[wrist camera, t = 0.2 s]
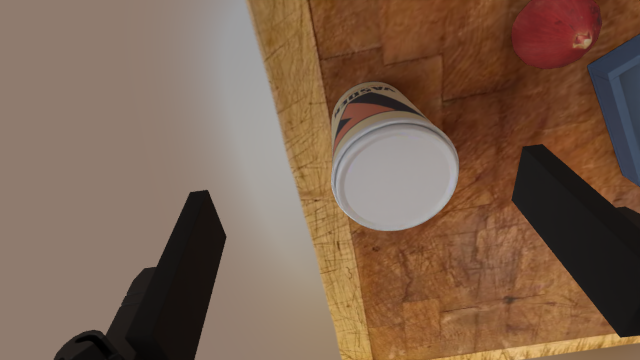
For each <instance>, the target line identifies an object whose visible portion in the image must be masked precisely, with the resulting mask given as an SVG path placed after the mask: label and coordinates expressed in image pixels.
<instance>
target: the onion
mask: <svg viewBox="0 0 640 360" xmlns="http://www.w3.org/2000/svg"><path fill="white" fill-rule="evenodd" d="M601 26H602V21H601V15H600V9H599V6H598V5H597V4H596V3H595V2H594V1H593V0H531V1H530V2H529V3H528V4H527V5H526V6H525V7H524V8H523V9H522V11H521V12H520V13H519V14H518V16H517V18H516V20H515V22H514V24H513V28H512V34H511V41H512V45H513V48H514V52H515V53H516V54H517V55H518V56H519V57H520V58H521V60H522V61H523V62H524V63H525V64H528V65H531V66H534V67H538V68H541V69H551V68H558V67H563V66H566V65H568V64H570V63H572V62H574V61H576V60H578V59H580V58H581V57H582V56H583V55H584V54H585V53H587V52H588V51H589V50H590V49H591V47H592V46H593V45H594V43H595V42H596V41H597V39H598V36H599V33H600V29H601Z"/></svg>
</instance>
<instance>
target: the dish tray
mask: <svg viewBox="0 0 640 360" xmlns="http://www.w3.org/2000/svg"><path fill="white" fill-rule="evenodd" d="M587 67H588V70H589V73H590V76H591V79H592V82H593V86H594V89H595V92H596V95H597V98H598V101H599V104H600V107H601V110H602V113H603V116H604V120H605V123H606V126H607V129H608V132H609V135H610V138H611V141H612V144H613V147H614V150H615V154H616V157H617V160H618V163H619V166H620V169H621V172H622V175H623V176H624V177H626V178H627V179H629V180H630V181H632V182H633V183H635V184H636V185H638V186H639V187H640V34H639V35H637V36H635V37H634V38H632V39H631V40H629V41H627V42H626V43H624V44H622V45H621V46H619V47H617V48H616V49H614V50H612V51H611V52H609V53H608V54H606V55H604V56H603V57H601V58H599V59H598V60H596V61H594V62H593V63H591V64H589V65H588V66H587Z"/></svg>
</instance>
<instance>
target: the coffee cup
mask: <svg viewBox="0 0 640 360" xmlns="http://www.w3.org/2000/svg"><path fill="white" fill-rule="evenodd" d="M458 173H459V160H458V155H457V152H456V149H455V147H454V145H453V144H452V142H451V140H450V139H449V138H448V137H447V136H446V135H445V133H443V132H442V131H441V130H440V129H439V128H437V127H436V126H434V125H433V124H432V123H431V122H430V121H429V120H428V119H427V118H426V117H425V116H424V115H423V114H422V113H421V112H420V111H419V110H418V109H417V108H416V107H415V106H414V105H413V104H412V103H411V102H410V101H409V100H408V99H407V98H406V97H405V96H404V95H403V94H402V93H400V92H399V91H398V90H397V89H396V88H394V87H392V86H391V85H388V84H386V83H382V82H366V83H362V84H359V85H357V86H355V87H353V88H351V89H350V90H348V91H347V92H346V93H345V94H344V95H343V96H342V97H341V98H340V99H339V101H338V102H337V104H336V106H335V108H334V111H333V115H332V176H331V185H332V191H333V194H334V197H335V199H336V201H337V203H338V205H339V206H340V208H341V209H342V210H343V211H344V212H345V213H346V214H347V215H348V216H349V217H350V218H351V219H353V220H354V221H356V222H357V223H359V224H361V225H363V226H365V227H368V228H371V229H375V230H382V231H395V230H402V229H407V228H411V227H414V226H416V225H419V224H421V223H423V222H425V221H426V220H428V219H430V218H431V217H433V216H434V215H435V214H437V213H438V212H439V211H440V210H441V209H442V208H443V207H444V206H445V205H446V204H447V202H448V201H449V199H450V198H451V196H452V194H453V192H454V190H455V188H456V184H457V180H458Z"/></svg>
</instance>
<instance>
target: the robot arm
mask: <svg viewBox="0 0 640 360" xmlns="http://www.w3.org/2000/svg"><path fill="white" fill-rule="evenodd" d="M512 201H513V202H514V204H515V205H516V206H517V208H518V209H519V210H520V211H521V213H522V214H523V215H524V216H525V218H526V219H527V220H528V221H529V223H530V224H531V225H532V226H533V228H534V229H535V230H536V232H537V233H538V234H539V235H540V237H541V238H542V239H543V240H544V242H545V243H546V244H547V245H548V247H549V248H550V249H551V250H552V252H553V253H554V254H555V256H556V257H557V258H558V259H559V261H560V262H561V263H562V264H563V266H564V267H565V268H566V269H567V271H568V272H569V273H570V274H571V276H572V277H573V278H574V280H575V281H576V282H577V283H578V285H579V286H580V287H581V288H582V290H583V291H584V292H585V293H586V295H587V296H588V297H589V298H590V300H591V301H592V302H593V304H594V305H595V306H596V307H597V309H598V310H599V311H600V312H601V314H602V315H603V316H604V317H605V319H606V320H607V321H608V323H609V324H610V325H611V326H612V328H613V329H614V330H615V331H616V333H617V334H618V335H619V336H620V338H621V337H630V336H640V214H639V213H637V212H635V211H633V210H631V209H629V208H627V207H618V208H615V207H614V206H613V205H612V204H611V203H610V202H608V201H607V200H606V199H605V198H604V197H603V196H601V195H600V194H599V193H598V192H597V191H596V190H595V189H593V188H592V187H591V186H590V185H589V184H588V183H586V182H585V181H584V180H583V179H582V178H581V177H580V176H578V175H577V174H576V173H575V172H574V171H573V170H571V169H570V168H569V167H568V166H567V165H566V164H564V163H563V162H562V161H561V160H560V159H559V158H558V157H556V156H555V155H554V154H553V153H552V152H551V151H549V150H548V149H547V148H546V147H545V146H544V145H543V144H540V145H532V146H525V147H523V149H522V153H521V158H520V163H519V167H518V172H517V177H516V181H515V186H514V191H513V195H512ZM225 240H226V234H225V232H224V230H223V227H222V224H221V222H220V219H219V217H218V215H217V212H216V209H215V207H214V204H213V202H212V199H211V197H210V194H209V192H208V190H203V191H196V192H190V194H189V196H188V198H187V200H186V203H185V205H184V207H183V209H182V212H181V214H180V216H179V218H178V221H177V223H176V225H175V227H174V229H173V232H172V234H171V236H170V238H169V240H168V243H167V245H166V247H165V249H164V252H163V254H162V256H161V258H160V260H159V263H158V265H157V267H151V268H145V269H143V270H142V272H141V273H140V274H139V275H138V276H137V277H136V278H135V279H134V280H133V282H132V284H131V286H130V288H129V290H128V292H127V296H125V298H124V300H123V302H122V304H121V305H122V306H121V307H120V308H119V310H118V312H117V314H116V316H115V318H114V320H113V322H112V324H111V326H110V328H109V330H108V332H107V334H106V336H105V335H104V334H103V333H102V332H101V331H96V330H91V331H86V332H83V333H81V334H79V335H77V336H75V337H73V338H72V339H71V340H69V341H68V342H67V343H66V344H65V345H63V347H62V348H61V349H60V350H59V351H58V352H57V354H56V356H55V358H54V360H194V358H195V355H196V351H197V347H198V344H199V339H200V336H201V332H202V328H203V324H204V321H205V317H206V313H207V309H208V306H209V302H210V298H211V294H212V290H213V286H214V283H215V279H216V275H217V271H218V267H219V264H220V260H221V256H222V252H223V248H224V244H225Z"/></svg>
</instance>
